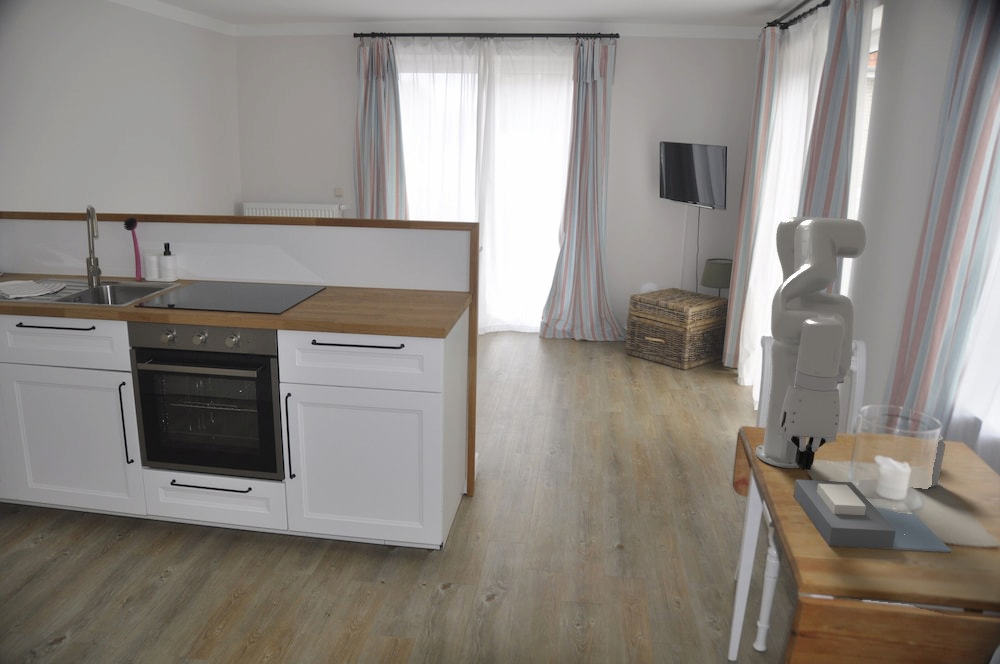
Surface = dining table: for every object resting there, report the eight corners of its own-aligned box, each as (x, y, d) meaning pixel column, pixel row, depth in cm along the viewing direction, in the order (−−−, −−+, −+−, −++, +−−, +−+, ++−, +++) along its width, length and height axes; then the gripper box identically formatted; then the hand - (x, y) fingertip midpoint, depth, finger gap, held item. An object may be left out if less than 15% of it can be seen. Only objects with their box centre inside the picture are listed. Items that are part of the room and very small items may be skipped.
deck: (793, 495, 154) (795, 479, 153) (848, 498, 153) (851, 482, 152) (828, 545, 135) (831, 527, 134) (892, 549, 134) (895, 530, 133)
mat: (848, 498, 153) (849, 497, 153) (900, 501, 153) (900, 499, 153) (892, 549, 134) (892, 547, 134) (951, 552, 133) (951, 550, 133)
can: (942, 491, 158) (952, 442, 154) (906, 487, 159) (915, 439, 156) (929, 476, 165) (939, 429, 162) (895, 473, 166) (904, 426, 163)
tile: (816, 492, 148) (818, 483, 147) (845, 493, 147) (847, 484, 147) (833, 513, 139) (835, 504, 138) (864, 515, 138) (866, 506, 138)
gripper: (846, 377, 140) (833, 461, 144) (770, 373, 141) (760, 457, 145) (863, 388, 132) (848, 477, 137) (783, 385, 133) (771, 473, 137)
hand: (803, 467), depth 141 cm, fingers closed
